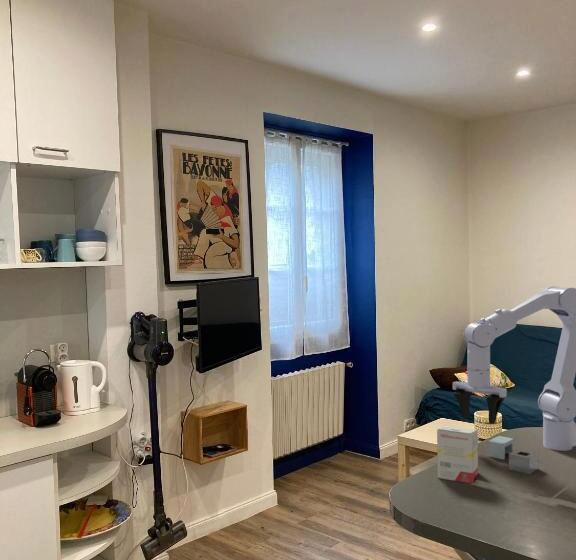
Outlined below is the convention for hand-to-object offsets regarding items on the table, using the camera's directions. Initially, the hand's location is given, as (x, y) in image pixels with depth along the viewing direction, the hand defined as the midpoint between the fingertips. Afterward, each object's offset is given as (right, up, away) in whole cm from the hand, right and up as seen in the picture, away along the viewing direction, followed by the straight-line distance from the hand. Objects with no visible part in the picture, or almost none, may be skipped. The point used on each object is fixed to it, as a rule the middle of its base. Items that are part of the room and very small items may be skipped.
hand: (478, 420), depth 160 cm
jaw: (+6, -9, -14) cm, 18 cm away
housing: (+5, -8, -3) cm, 10 cm away
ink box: (-10, -10, -16) cm, 21 cm away
